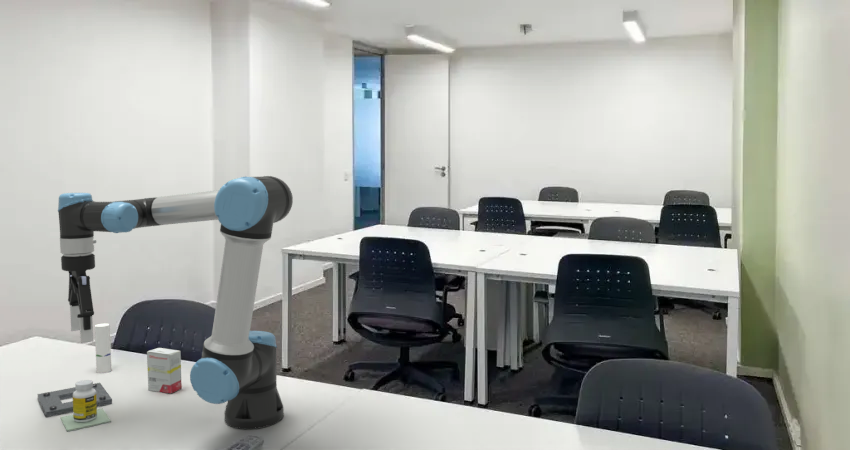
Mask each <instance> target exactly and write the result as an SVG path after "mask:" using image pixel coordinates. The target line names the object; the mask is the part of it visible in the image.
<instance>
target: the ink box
mask: <svg viewBox="0 0 850 450" xmlns="http://www.w3.org/2000/svg"><path fill="white" fill-rule="evenodd" d="M146 359H147V361H146V362H147V363H146V364H147V389H148V391H150V392H157V393H164V394H165V393H166V394H173V393H175V392H177V391H179V390H182V356H181V350H177V349H171V348H165V347H163V348H162V347H157V348H154V349H150V350H148V351H146Z"/></svg>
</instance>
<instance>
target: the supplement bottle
mask: <svg viewBox="0 0 850 450" xmlns="http://www.w3.org/2000/svg"><path fill="white" fill-rule="evenodd" d="M93 384H94V381H93V380H92V379H84V380H83V379H82V380H79V381H76V382H75V388H76V391H74V393H73V398H72V401H73V412H72V413H73V414H72V415H73V418H74V421H76V422H88V421H91V420H93V419H95V418H96V417H97V409H98V407H97V402H96V390H95V389H93V388H92V387H93Z"/></svg>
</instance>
